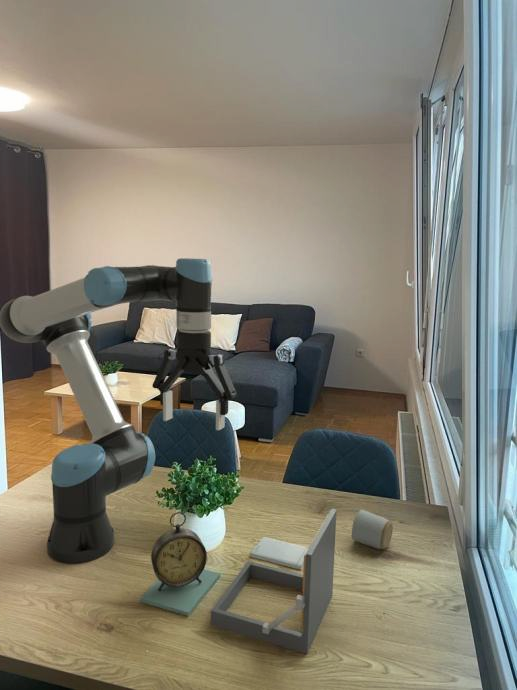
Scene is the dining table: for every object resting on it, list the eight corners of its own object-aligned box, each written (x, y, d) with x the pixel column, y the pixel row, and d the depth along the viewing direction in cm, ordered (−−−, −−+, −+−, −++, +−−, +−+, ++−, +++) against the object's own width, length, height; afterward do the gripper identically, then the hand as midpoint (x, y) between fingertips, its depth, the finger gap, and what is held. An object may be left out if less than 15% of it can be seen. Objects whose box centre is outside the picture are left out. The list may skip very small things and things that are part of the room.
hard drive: (250, 552, 125) (301, 565, 120) (263, 535, 133) (312, 547, 128) (250, 559, 126) (301, 572, 121) (263, 542, 133) (312, 553, 128)
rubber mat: (140, 601, 109) (140, 598, 108) (175, 565, 121) (175, 561, 121) (188, 616, 105) (188, 612, 104) (220, 576, 117) (220, 573, 117)
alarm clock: (154, 596, 109) (153, 522, 106) (150, 581, 114) (149, 509, 111) (207, 587, 112) (207, 514, 110) (201, 572, 117) (201, 502, 115)
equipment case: (207, 628, 101) (208, 535, 98) (247, 573, 119) (249, 492, 116) (305, 658, 94) (309, 558, 91) (332, 595, 112) (336, 509, 109)
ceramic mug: (382, 556, 127) (384, 525, 125) (350, 545, 131) (351, 515, 130) (397, 537, 136) (399, 509, 134) (366, 528, 140) (368, 500, 139)
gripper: (136, 327, 119) (137, 420, 123) (237, 337, 109) (235, 437, 113) (155, 323, 126) (156, 411, 130) (253, 332, 116) (250, 427, 120)
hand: (193, 424), depth 121 cm, fingers open, 13 cm apart
